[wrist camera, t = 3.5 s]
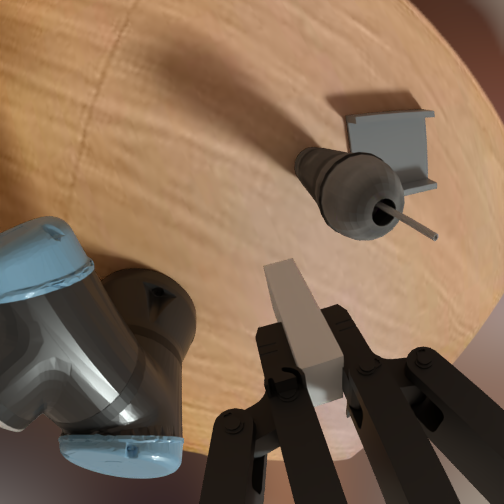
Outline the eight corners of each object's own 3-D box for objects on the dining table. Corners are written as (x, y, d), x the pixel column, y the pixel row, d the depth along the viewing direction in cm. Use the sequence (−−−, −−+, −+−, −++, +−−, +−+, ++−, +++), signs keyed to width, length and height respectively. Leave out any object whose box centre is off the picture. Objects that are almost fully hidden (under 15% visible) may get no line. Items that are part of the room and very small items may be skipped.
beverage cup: (279, 138, 31) (375, 185, 13) (340, 133, 32) (469, 178, 14) (285, 199, 34) (365, 303, 17) (342, 192, 35) (450, 278, 18)
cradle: (355, 199, 36) (364, 205, 34) (345, 115, 31) (355, 117, 28) (426, 183, 36) (436, 188, 34) (422, 109, 31) (434, 110, 29)
